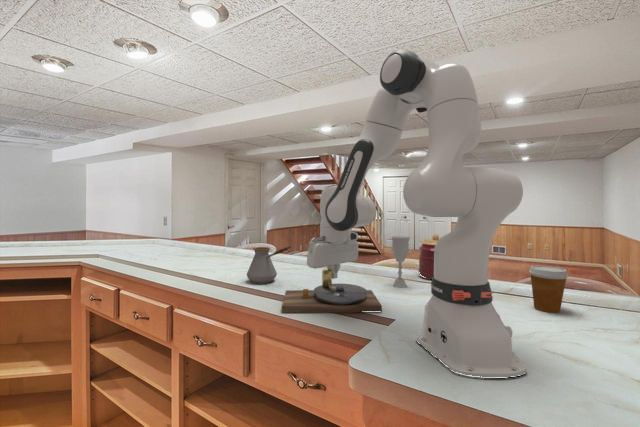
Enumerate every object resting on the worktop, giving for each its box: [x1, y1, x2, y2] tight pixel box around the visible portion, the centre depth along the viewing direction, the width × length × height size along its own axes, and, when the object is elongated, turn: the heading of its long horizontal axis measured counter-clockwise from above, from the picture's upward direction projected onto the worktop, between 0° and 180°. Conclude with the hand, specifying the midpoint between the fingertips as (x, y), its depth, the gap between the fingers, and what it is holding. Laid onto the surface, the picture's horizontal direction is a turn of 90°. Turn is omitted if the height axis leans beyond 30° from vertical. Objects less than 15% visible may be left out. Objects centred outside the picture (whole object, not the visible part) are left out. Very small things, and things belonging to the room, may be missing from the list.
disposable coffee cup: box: [528, 265, 569, 314], centre depth 98 cm, size 10×10×12 cm
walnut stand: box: [281, 288, 383, 314], centre depth 102 cm, size 16×28×4 cm, turn 92°
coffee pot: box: [246, 245, 293, 285], centre depth 126 cm, size 21×12×15 cm, turn 51°
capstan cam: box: [313, 269, 368, 305], centre depth 102 cm, size 16×16×7 cm
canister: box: [418, 234, 440, 280], centre depth 137 cm, size 13×13×18 cm
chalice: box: [390, 235, 411, 288], centre depth 123 cm, size 7×7×18 cm
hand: (333, 278), depth 108 cm, fingers closed
